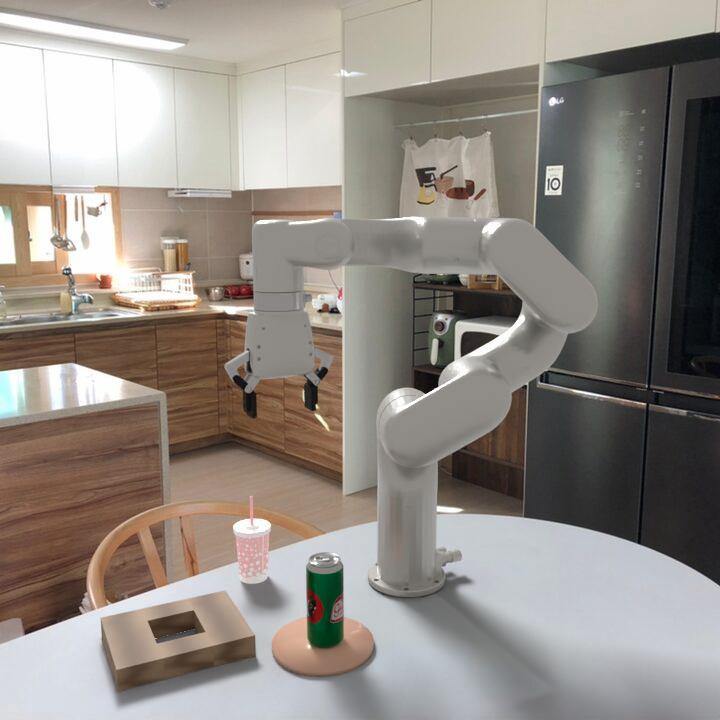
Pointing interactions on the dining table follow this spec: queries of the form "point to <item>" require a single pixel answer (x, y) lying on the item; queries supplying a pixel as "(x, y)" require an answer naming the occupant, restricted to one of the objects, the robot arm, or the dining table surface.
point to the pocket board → (180, 656)
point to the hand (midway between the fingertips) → (281, 412)
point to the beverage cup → (252, 548)
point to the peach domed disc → (322, 649)
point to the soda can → (325, 600)
